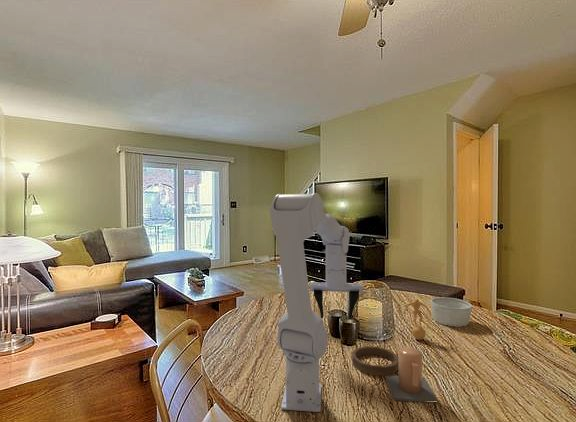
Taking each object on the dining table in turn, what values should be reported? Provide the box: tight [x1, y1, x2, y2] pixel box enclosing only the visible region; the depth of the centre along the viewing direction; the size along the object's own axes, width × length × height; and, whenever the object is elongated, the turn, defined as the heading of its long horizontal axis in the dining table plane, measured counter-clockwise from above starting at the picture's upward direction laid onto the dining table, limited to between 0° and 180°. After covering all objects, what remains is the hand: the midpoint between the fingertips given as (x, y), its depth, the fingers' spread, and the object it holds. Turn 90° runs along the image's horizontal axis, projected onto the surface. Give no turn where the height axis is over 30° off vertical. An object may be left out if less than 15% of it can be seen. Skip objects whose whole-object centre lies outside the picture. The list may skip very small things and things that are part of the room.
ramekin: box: [430, 296, 473, 328], centre depth 112 cm, size 13×13×7 cm
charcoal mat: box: [385, 374, 439, 403], centre depth 70 cm, size 9×9×1 cm
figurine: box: [403, 298, 432, 341], centre depth 98 cm, size 8×6×12 cm
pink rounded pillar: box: [397, 346, 423, 394], centre depth 69 cm, size 7×5×8 cm
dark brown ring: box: [351, 345, 399, 377], centre depth 82 cm, size 12×12×2 cm
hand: (335, 317), depth 87 cm, fingers open, 7 cm apart
